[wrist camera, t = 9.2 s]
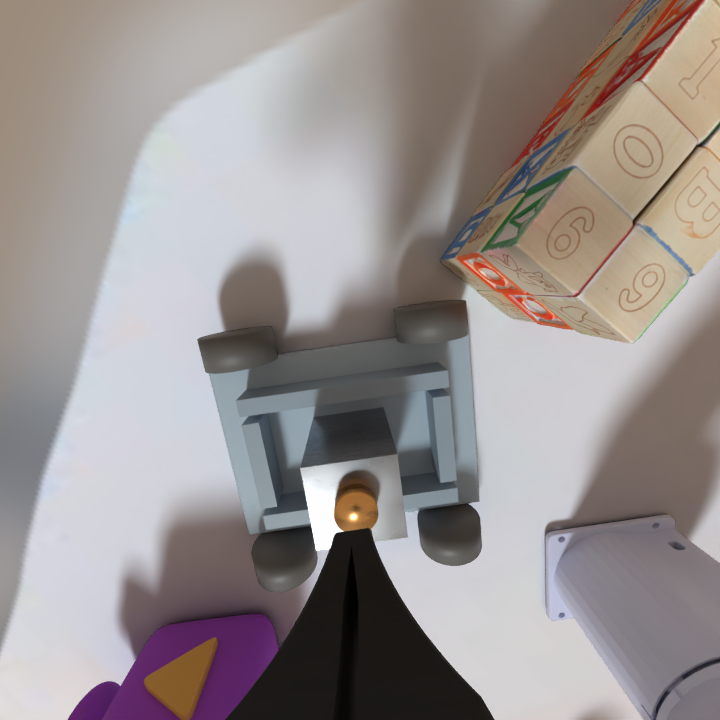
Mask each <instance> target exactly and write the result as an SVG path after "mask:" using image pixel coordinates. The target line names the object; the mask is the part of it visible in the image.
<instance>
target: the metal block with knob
mask: <svg viewBox="0 0 720 720" xmlns="http://www.w3.org/2000/svg"><path fill="white" fill-rule="evenodd" d="M300 470H301V475H302V480H303V485H304V490H305V495H306V500H307V505H308V510H309V515H310V520H311V525H312V530H313V535H314V540H315V545H316V550H323V549H330V547H331V544H332V540H333V537H334V535H335V534H336V533H337V532H344V531H351V530H358V529H365V528H369V529H371V530H372V535H373V539H374V542H378V541H385V540H392V539H399V538H405V537H408V535H407V527H406V519H405V511H404V502H403V494H402V486H401V478H400V470H399V462H398V454H397V450H396V447H395V444H394V440H393V437H392V434H391V430H390V427H389V424H388V420H387V417H386V413H385V410H384V407H380V408H373V409H366V410H359V411H352V412H345V413H338V414H332V415H325V416H318V417H313V420H312V424H311V428H310V432H309V436H308V440H307V444H306V448H305V452H304V455H303V459H302V463H301V467H300Z"/></svg>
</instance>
